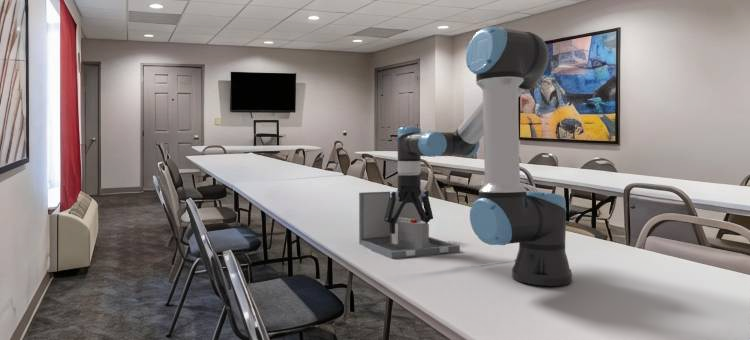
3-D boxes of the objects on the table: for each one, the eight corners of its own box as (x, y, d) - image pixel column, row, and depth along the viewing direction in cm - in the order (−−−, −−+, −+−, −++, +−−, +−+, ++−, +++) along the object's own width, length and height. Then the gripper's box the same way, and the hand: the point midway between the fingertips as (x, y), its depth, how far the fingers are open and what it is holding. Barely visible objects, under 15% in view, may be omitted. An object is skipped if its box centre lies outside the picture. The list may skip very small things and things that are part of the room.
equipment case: (460, 252, 162) (461, 195, 161) (392, 259, 151) (392, 198, 150) (420, 240, 184) (421, 190, 183) (359, 245, 173) (359, 192, 172)
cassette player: (428, 252, 162) (428, 221, 161) (422, 253, 160) (422, 221, 160) (396, 245, 174) (396, 216, 174) (390, 246, 172) (390, 216, 172)
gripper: (432, 173, 174) (431, 238, 175) (373, 174, 165) (373, 243, 165) (444, 174, 168) (444, 241, 168) (383, 175, 158) (383, 247, 159)
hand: (408, 242), depth 167 cm, fingers open, 10 cm apart
